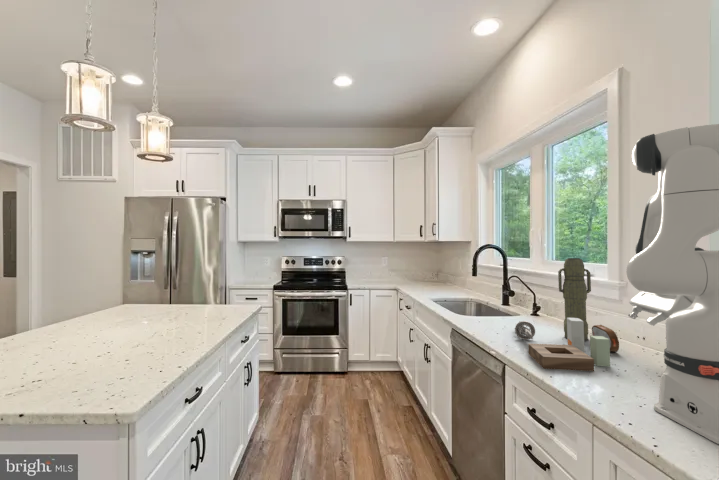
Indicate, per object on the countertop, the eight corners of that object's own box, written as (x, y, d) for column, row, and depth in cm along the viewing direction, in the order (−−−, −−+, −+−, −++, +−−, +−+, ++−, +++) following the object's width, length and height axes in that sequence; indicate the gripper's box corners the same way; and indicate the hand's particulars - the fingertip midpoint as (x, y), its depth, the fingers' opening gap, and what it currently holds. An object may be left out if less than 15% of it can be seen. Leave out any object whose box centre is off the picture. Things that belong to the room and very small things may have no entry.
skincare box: (567, 347, 129) (566, 317, 129) (579, 348, 128) (578, 317, 128) (572, 352, 123) (571, 320, 123) (585, 353, 122) (584, 321, 122)
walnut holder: (594, 371, 104) (593, 358, 104) (543, 368, 107) (543, 356, 107) (572, 355, 119) (571, 345, 119) (528, 354, 121) (528, 343, 122)
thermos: (596, 341, 136) (593, 258, 137) (564, 340, 139) (562, 258, 140) (587, 336, 145) (584, 257, 145) (557, 334, 147) (555, 258, 148)
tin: (620, 354, 120) (619, 332, 120) (610, 354, 120) (610, 331, 120) (599, 343, 134) (598, 322, 134) (590, 342, 135) (589, 322, 135)
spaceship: (516, 329, 126) (537, 323, 124) (508, 320, 159) (524, 314, 157) (526, 349, 124) (547, 343, 122) (515, 336, 157) (532, 330, 155)
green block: (610, 366, 108) (609, 339, 108) (597, 365, 109) (596, 338, 109) (603, 362, 112) (602, 336, 112) (590, 361, 113) (589, 335, 113)
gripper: (642, 281, 118) (613, 307, 119) (689, 288, 98) (653, 320, 99) (657, 293, 117) (627, 320, 119) (707, 303, 97) (670, 335, 98)
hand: (639, 320), depth 109 cm, fingers open, 8 cm apart
